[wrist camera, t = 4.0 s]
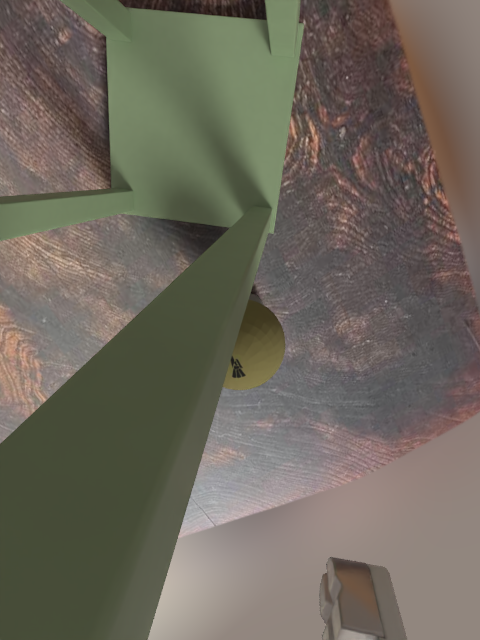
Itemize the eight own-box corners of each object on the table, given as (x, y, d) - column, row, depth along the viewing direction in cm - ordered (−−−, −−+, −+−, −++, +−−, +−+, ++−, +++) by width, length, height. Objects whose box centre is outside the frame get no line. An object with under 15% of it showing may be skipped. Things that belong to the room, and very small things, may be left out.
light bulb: (299, 311, 28) (306, 378, 18) (245, 347, 29) (227, 425, 20) (256, 256, 26) (240, 299, 17) (202, 298, 28) (163, 357, 19)
